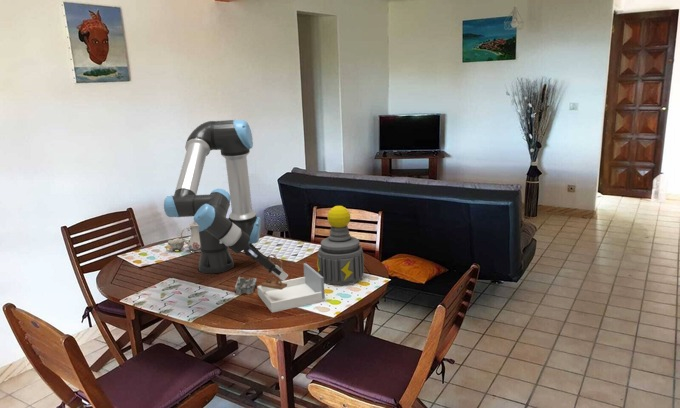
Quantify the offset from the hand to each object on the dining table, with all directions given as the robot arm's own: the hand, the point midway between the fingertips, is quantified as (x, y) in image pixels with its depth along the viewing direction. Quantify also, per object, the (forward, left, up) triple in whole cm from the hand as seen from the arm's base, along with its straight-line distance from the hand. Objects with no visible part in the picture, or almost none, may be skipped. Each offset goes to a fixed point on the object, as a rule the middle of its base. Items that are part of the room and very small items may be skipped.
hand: (283, 275), depth 181 cm
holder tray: (-1, +3, -10) cm, 10 cm away
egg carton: (-18, -10, -10) cm, 23 cm away
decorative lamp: (-10, +28, -10) cm, 31 cm away
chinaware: (-83, -18, -10) cm, 85 cm away
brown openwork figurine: (0, -4, -4) cm, 5 cm away
